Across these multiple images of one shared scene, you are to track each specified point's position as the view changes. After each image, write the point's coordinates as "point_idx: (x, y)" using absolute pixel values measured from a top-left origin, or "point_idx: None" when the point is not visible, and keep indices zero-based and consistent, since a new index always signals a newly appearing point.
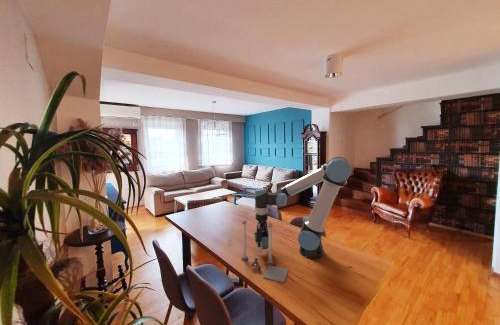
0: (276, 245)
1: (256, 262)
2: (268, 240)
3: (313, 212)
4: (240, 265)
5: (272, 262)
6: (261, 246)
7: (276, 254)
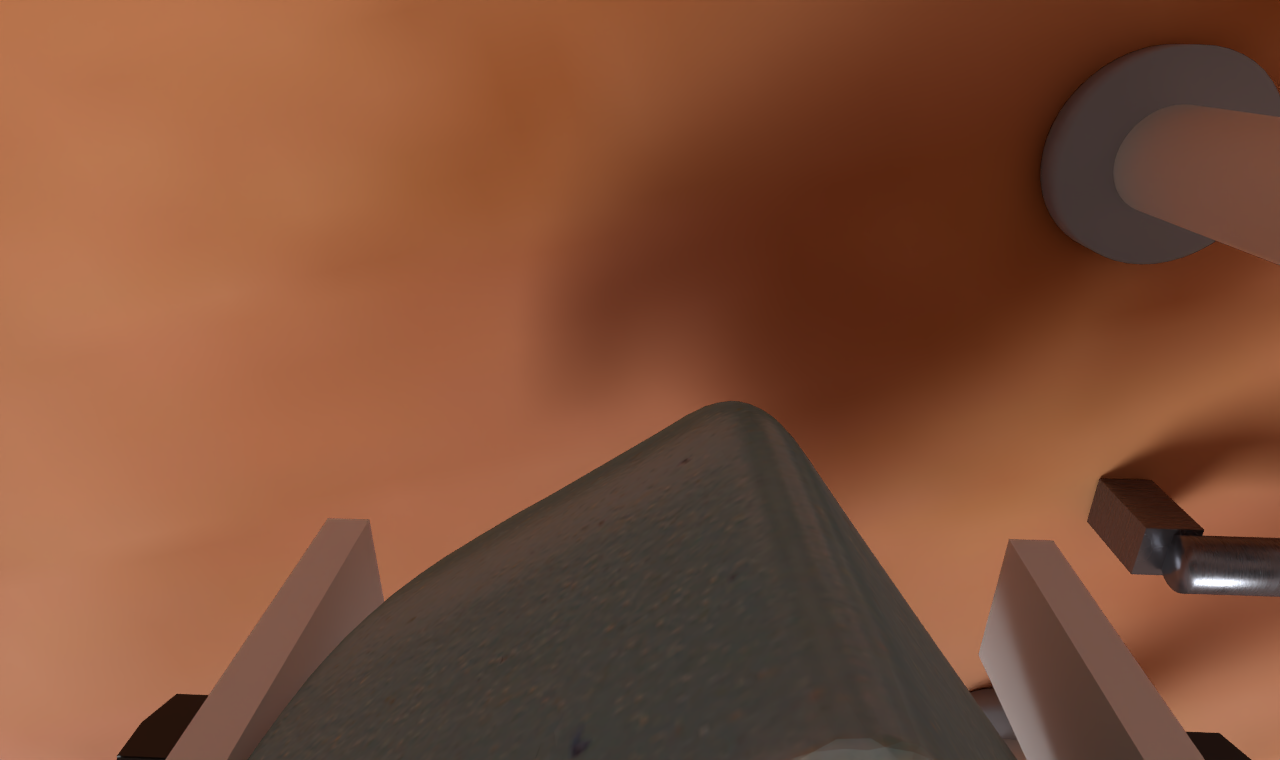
0: (58, 200)
1: (1154, 499)
2: (907, 626)
3: None
4: (1262, 742)
5: (1175, 83)
6: (1168, 707)
7: (581, 78)
